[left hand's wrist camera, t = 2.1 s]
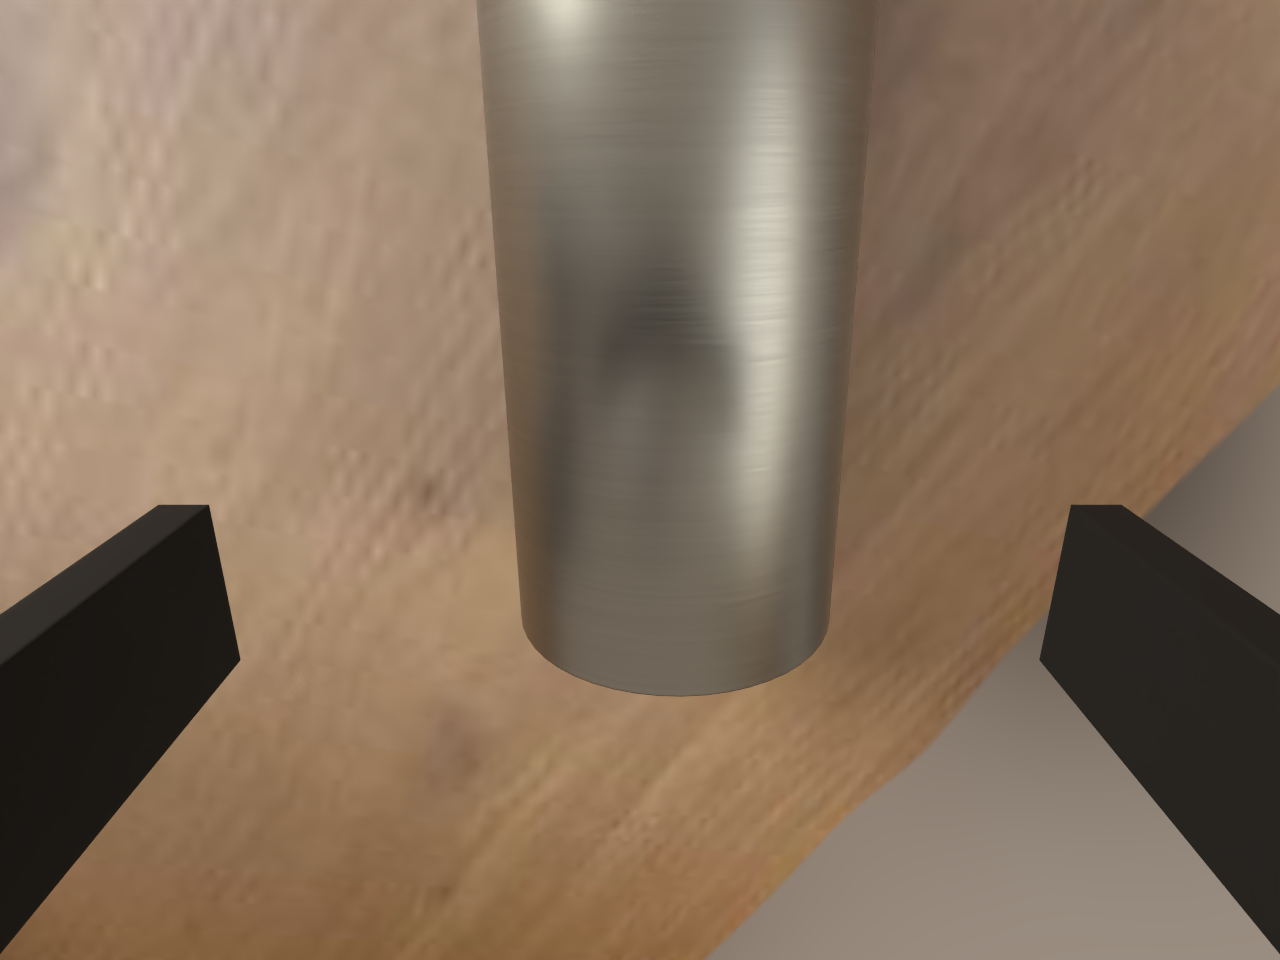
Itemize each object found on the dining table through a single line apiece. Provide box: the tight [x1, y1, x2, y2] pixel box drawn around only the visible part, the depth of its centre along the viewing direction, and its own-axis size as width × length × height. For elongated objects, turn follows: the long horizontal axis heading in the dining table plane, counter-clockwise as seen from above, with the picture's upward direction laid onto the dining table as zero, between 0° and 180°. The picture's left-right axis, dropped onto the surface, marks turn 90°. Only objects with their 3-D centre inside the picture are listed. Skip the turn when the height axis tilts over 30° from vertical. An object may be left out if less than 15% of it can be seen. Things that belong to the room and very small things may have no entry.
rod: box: [476, 0, 879, 696], centre depth 19 cm, size 24×9×9 cm, turn 1°
